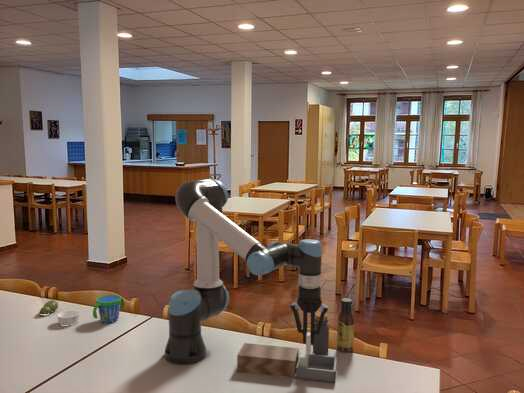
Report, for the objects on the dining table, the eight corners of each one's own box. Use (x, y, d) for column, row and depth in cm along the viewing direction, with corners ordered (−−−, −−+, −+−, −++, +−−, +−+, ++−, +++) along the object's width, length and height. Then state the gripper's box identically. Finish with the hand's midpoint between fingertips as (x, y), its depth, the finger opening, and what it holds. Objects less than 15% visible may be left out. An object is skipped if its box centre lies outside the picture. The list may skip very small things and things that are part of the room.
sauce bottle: (335, 345, 180) (336, 296, 178) (351, 345, 180) (353, 296, 178) (338, 353, 174) (339, 302, 171) (354, 353, 173) (356, 302, 171)
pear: (59, 298, 216) (46, 309, 206) (61, 308, 217) (47, 320, 208) (49, 297, 217) (35, 308, 207) (50, 307, 218) (36, 318, 209)
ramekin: (74, 327, 196) (73, 317, 196) (53, 327, 196) (53, 317, 196) (82, 319, 205) (82, 310, 204) (63, 319, 205) (62, 309, 205)
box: (295, 378, 154) (296, 367, 154) (299, 363, 165) (300, 353, 164) (335, 383, 151) (335, 371, 151) (336, 367, 162) (336, 356, 162)
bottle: (327, 356, 170) (328, 317, 169) (312, 355, 171) (312, 316, 170) (328, 350, 176) (329, 312, 174) (313, 348, 177) (314, 311, 175)
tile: (299, 357, 155) (306, 357, 155) (301, 349, 161) (308, 350, 161) (299, 373, 156) (306, 374, 156) (301, 365, 162) (308, 366, 161)
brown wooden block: (237, 371, 159) (237, 355, 158) (244, 358, 168) (244, 342, 168) (294, 377, 155) (294, 361, 154) (298, 364, 164) (298, 348, 164)
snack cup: (100, 328, 195) (99, 305, 194) (86, 322, 201) (86, 300, 200) (131, 318, 207) (131, 296, 206) (117, 312, 213) (117, 291, 212)
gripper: (289, 287, 153) (288, 355, 156) (328, 290, 150) (326, 359, 153) (292, 281, 160) (291, 345, 163) (329, 283, 158) (328, 349, 160)
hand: (308, 352), depth 158 cm, fingers closed
